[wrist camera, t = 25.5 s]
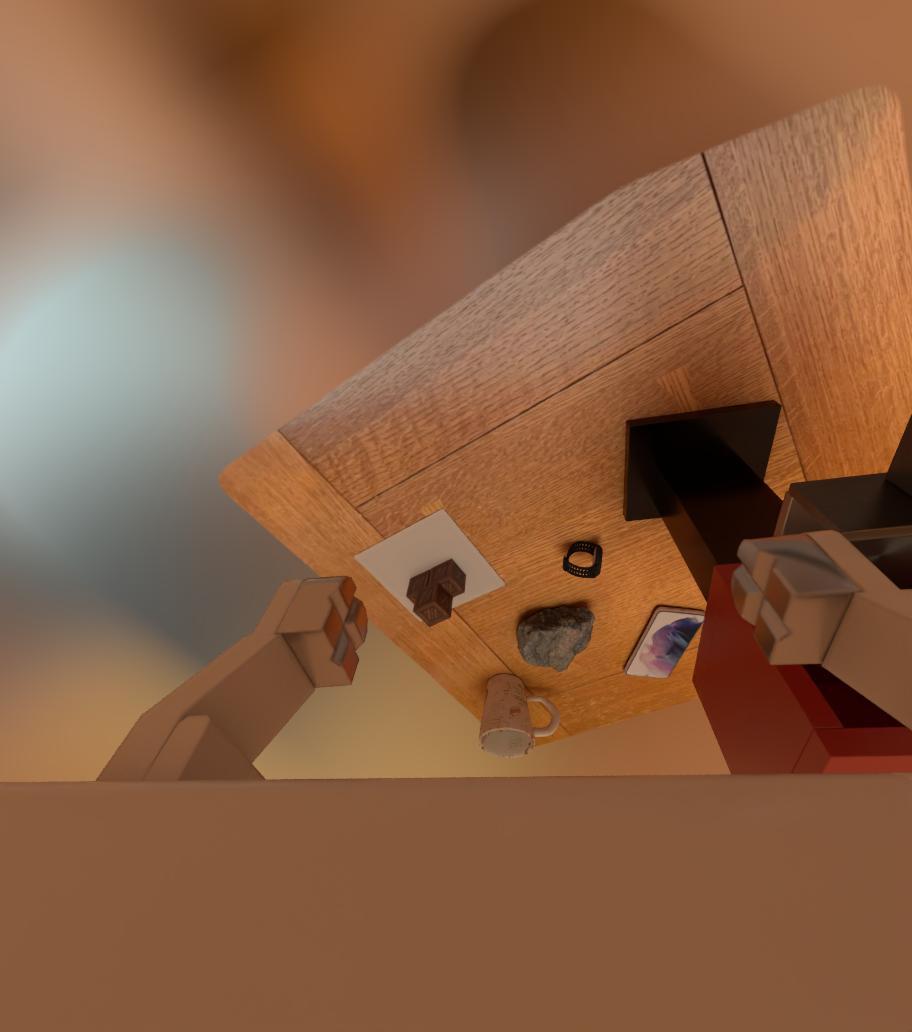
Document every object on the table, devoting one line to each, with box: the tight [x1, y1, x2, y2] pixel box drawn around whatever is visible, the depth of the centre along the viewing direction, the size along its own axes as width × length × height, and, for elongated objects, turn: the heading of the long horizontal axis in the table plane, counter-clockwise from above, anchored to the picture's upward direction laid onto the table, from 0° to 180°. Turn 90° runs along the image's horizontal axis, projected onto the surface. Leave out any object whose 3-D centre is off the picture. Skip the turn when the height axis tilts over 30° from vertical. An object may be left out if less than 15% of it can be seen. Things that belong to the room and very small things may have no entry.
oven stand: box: [623, 400, 912, 774], centre depth 34 cm, size 12×14×34 cm
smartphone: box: [624, 607, 705, 679], centre depth 64 cm, size 7×1×15 cm
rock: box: [517, 606, 595, 672], centre depth 62 cm, size 12×10×5 cm
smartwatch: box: [563, 542, 603, 578], centre depth 53 cm, size 4×5×5 cm
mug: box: [479, 674, 560, 758], centre depth 69 cm, size 8×13×10 cm, turn 93°
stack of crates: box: [353, 509, 506, 627], centre depth 57 cm, size 15×15×7 cm
